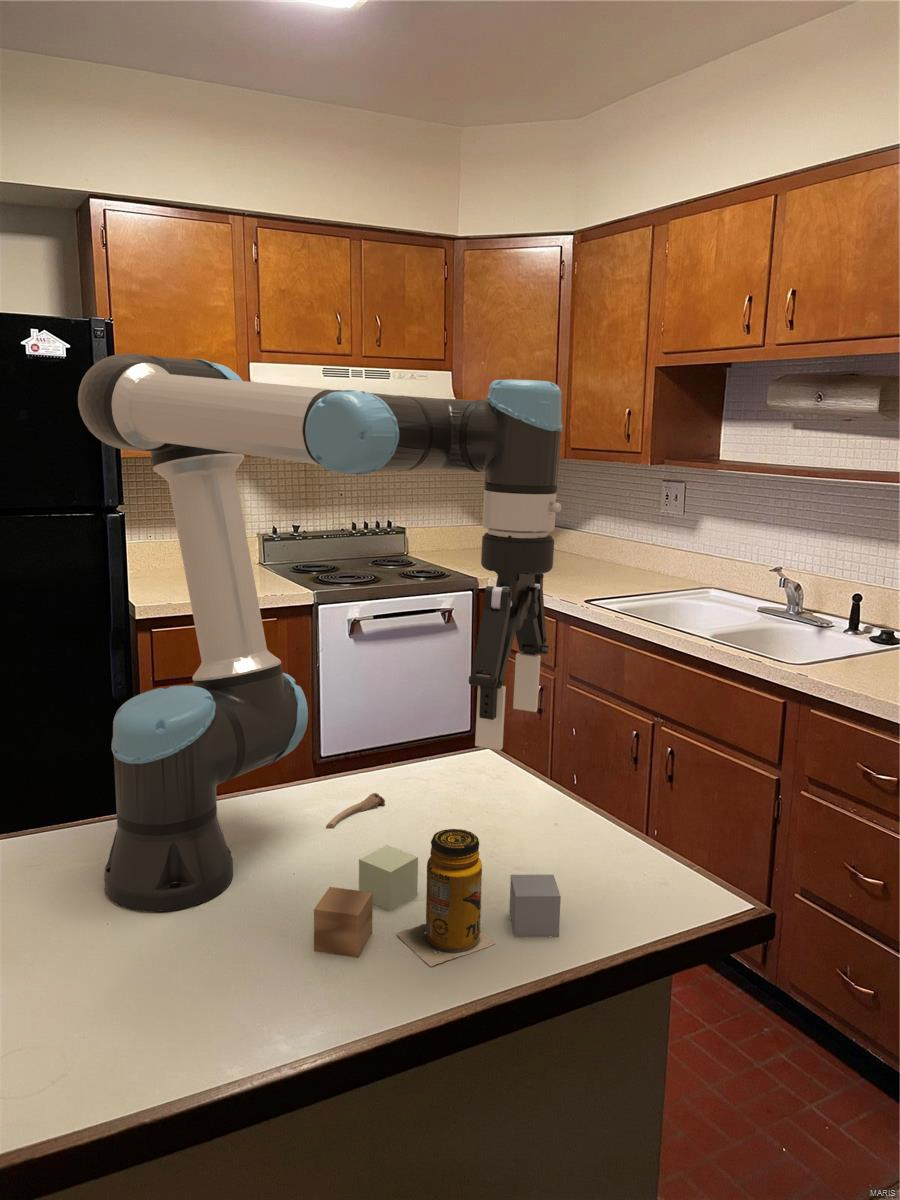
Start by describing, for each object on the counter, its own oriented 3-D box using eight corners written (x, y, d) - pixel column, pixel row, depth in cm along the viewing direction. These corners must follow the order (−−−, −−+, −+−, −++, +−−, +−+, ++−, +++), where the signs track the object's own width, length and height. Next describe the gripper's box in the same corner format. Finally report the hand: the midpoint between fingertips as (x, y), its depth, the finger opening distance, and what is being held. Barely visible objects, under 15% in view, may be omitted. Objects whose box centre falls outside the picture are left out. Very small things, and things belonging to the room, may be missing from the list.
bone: (318, 826, 128) (318, 812, 128) (373, 802, 137) (373, 789, 137) (330, 832, 127) (330, 818, 126) (386, 807, 135) (386, 794, 135)
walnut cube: (314, 952, 97) (313, 909, 96) (329, 927, 102) (329, 886, 101) (358, 958, 96) (358, 915, 95) (372, 933, 101) (372, 892, 100)
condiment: (495, 944, 99) (499, 842, 97) (430, 968, 95) (432, 861, 92) (458, 914, 105) (461, 818, 103) (395, 935, 101) (396, 834, 98)
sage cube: (358, 897, 109) (359, 859, 108) (386, 882, 112) (386, 844, 112) (390, 911, 106) (390, 872, 105) (417, 895, 110) (418, 856, 109)
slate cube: (514, 937, 101) (515, 896, 100) (509, 914, 106) (510, 874, 105) (558, 937, 101) (560, 896, 100) (551, 914, 106) (553, 874, 105)
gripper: (519, 549, 81) (507, 772, 85) (579, 524, 104) (568, 700, 108) (442, 542, 84) (434, 759, 88) (517, 519, 107) (508, 692, 111)
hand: (508, 727), depth 98 cm, fingers open, 13 cm apart
